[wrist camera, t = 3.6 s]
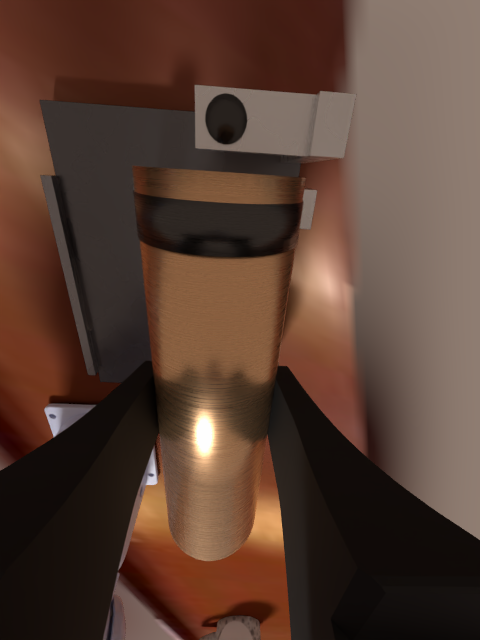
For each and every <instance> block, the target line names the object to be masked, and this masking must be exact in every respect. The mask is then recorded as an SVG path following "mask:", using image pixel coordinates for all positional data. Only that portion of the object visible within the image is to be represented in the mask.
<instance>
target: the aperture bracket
mask: <svg viewBox="0 0 480 640" xmlns="http://www.w3.org/2000/svg"><path fill="white" fill-rule="evenodd" d="M355 100H356V94H350V93H338V92H326V91H320V92H319V93H318V94H316V95H314V94H302V93H289V92H277V91H264V90H252V89H240V88H227V87H215V86H203V85H195V148H196V149H198V150H209V151H223V152H237V153H251V154H265V155H279V156H281V161H280V162H283V163H297V164H302V163H310V162H317V161H325V160H332V159H340V158H344V154H345V149H346V144H347V139H348V134H349V129H350V124H351V120H352V115H353V110H354V105H355Z"/></svg>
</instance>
